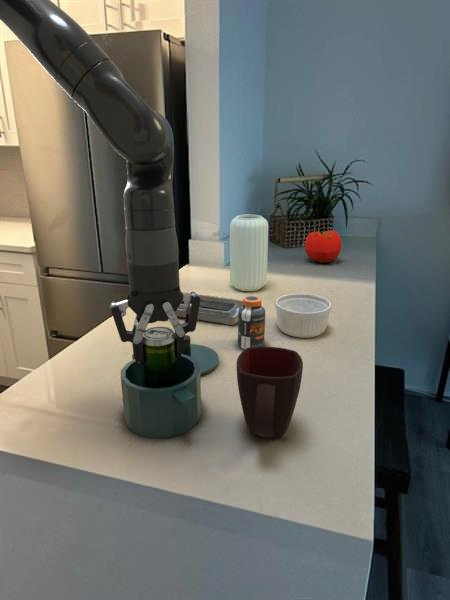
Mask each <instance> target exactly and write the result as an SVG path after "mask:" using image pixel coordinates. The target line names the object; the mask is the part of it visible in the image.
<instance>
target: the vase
mask: <svg viewBox="0 0 450 600" xmlns="http://www.w3.org/2000/svg"><path fill="white" fill-rule="evenodd" d="M268 250H269V222H268V220H267V219H266V218H265V217H263V216H262V215H260V214H251V213H249V214H248V213H247V214H239V215H236V216H235V217H234V218H232V220H231V221H230V223H229V281H230V284H231V285H232V286H233V287H234V288H235V289H237V290H239V291H242V292H256V291H258V290H261V288H263V287H265V285H266V284H267V282H268V281H267V280H268V257H269V255H268V253H269V252H268Z"/></svg>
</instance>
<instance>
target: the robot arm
mask: <svg viewBox="0 0 450 600" xmlns="http://www.w3.org/2000/svg"><path fill="white" fill-rule="evenodd" d="M0 21H1V23H3V24H4V26H6V27H7V28H8V29H9V31H11V33H12V34H13V35H14V36H15V37H16V38H17V39H18V41H19V42H21V44H22V45H23V46H24V48H26V50H27V51H29V53H30V54H31V55H32V57H33V58H34V59H35V60H36V61H37V62H38V63H39V65H40V66H41V67H42V68H43V69H44V71H46V73H47V74H48V75H49V76H50V77H51V78H52V79H53V80H54V81H55V83H57V85H58V86H59V87H60V88H61V89H62V90H63V91H64V92H65V93H66V94H67V95H68V96H69V97H70V98H71V99H72V100H73V101H74V102H75V103H76V104H77V105H78V106H79V107H80V108H81V109H82V110H83V112H85V113H86V114H87V116H88V117H89V119H90V120H91V122H92V124H93V125H94V126H95V127H96V129H97V130H98V132H100V134H101V135H102V137H103V138H104V139H105V140H106V141H107V143H108V144H109V145H110V146H111V147H112V148H113V149H114V151H115V152H117V154H118V155H120V156H121V157H122V158H123V159H124V160H125V161H126V171H127V172H126V174H127V175H126V177H127V183H126V187H125V189H124V192H123V212H124V213H123V214H124V223H125V224H124V225H125V238H124V239H125V240H124V241H125V242H124V244H125V245H124V246H125V256H126V267H127V279H128V290H129V292H128V295H127V298H126V299H125V300H121V301H118V302H117V301H114V300H113V301H111V302H110V303H109V309H110V312H111V315H112V318H113V320H114V323H115V327H116V330H117V332H118V335H119V339H120V341H121V342H122V343H127V342H130V343H131V344H132V345H131V346H132V355H133V356H134V359H135V360H136V362H137V361H139V364H140V365H141V364H144V353H143V343H142V341H141V339H142V336H143V334H144V331H146V329H148V325H149V324H154V323H157V322H168V321H169V323H170V324H171V325H170V326H171V327H172V330H173V331H174V336H175V339H176V358H181V354H184V352H185V344H184V336H185V335H187V334H188V333H193V332H195V331H196V328H197V323H198V319H197V317H198V311H199V307H201V306H200V297H199V296H198V295H199V294H198V293H196V292H195V291H190V292H187V293H185V292H184V293H182V292H183V291H182V290H181V284H180V283H181V282H180V265H179V254H180V250H179V244H178V243H179V241H178V235H177V231H176V218H175V201H174V191H173V181H174V164H175V163H174V162H175V143H174V133H173V129H172V127H171V124H170V123H169V121H168V119H166V117H165V116H164V115H162V114H161V113H160V112H157V111H155V110H154V109H152V108H151V106H149V104H147V102H145V100H144V99H143V98H142V97H141V96H140V95H139V94H138V93H137V91H135V89H133V87H131V85H130V84H129V82H127V81H126V80H125V77H124V75H123V73H122V72H121V70H120V69H119V68H118V66H117V65H116V64H115V63H114V61H113V60H111V58H110V56H108V54H107V53H106V52H105V51H104V50H103V48H102V47H100V45H99V44H98V43H97V42H96V41H95V40H94V39H93V38H92V37H91V36H90V34H89V33H88V32H87V31H86V30H85V28H83V27H82V26H81V25H80V24H79V23H78V22H76V20H75V19H74V18H72V17H71V16H70V15H69V14H68V13H67V12H65V10H63V9H62V8H61V7H59V6H58V5H57V4H55V2H53V1H52V0H0ZM188 293H190V294H188ZM197 294H198V295H197ZM182 301H184V305H186V307H187V310H186V316H185V318H184V322H182V323H181V322H180V320H179V317H177V316H176V314H175V312H176V310H177V308H178V307H179V305H180V304H181V302H182ZM128 308H129V309H130V310H132V311H133V313H134V314H135V318H134V322H133V327H132V329H131V330H128V329H127V328H126V325H125V322H124V319H123V317H125V316H126V315H127V309H128Z"/></svg>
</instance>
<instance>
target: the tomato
mask: <svg viewBox="0 0 450 600" xmlns="http://www.w3.org/2000/svg"><path fill="white" fill-rule="evenodd" d="M304 250H305V253H306V256H307V257H308V258H309V259H310V260H311V261H312V262H317V263H318V264H319V263H320V264H326V263H331V262H333V261H336V260H337V259H338V257H339V256H340V253H341V251H342V238H341V236H340V234H339V232H337V231H336V230H331V229H330V230H326V231H325V230H324V231H322V233H321V232H320V231H318V230H317V231H311V232H309V234H308V235H307V236H306V237H305V241H304Z"/></svg>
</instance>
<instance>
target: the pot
mask: <svg viewBox="0 0 450 600" xmlns="http://www.w3.org/2000/svg"><path fill="white" fill-rule="evenodd" d="M131 358H132V360H130V361H128V362H127V363H125V364H124V366H123V367H122V369H121V370H120V385H121V394H122V403H123V404H122V405H123V414H124V421H125V424H126V426H127V427H128V429H129V430H130V431H131V432H133V433H135V434H137V435H138V436H141V437H143V438H144V437H145V438H150V439H163V438H164V439H165V438H171V437H176V436H179V435H181V434H183V433H186V432H188V431H189V430H191V429H192V428H193V427H195V425H197V423H198V422H199V420H200V419H201V415H202V387H201V386H202V384H201V383H202V382H201V375H200V367H199V364H198V362H197V361H196V360H194V359H193V358H192V357H190V356H187V355H184V354H181V358H177V378H178V385H175V386H172V387H165V388H157V389H155V388H145V382H144V370H143V364H141V365H140V364H139V361H137V362H136V360H135V359H134V356H133V354H132V355H131Z"/></svg>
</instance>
